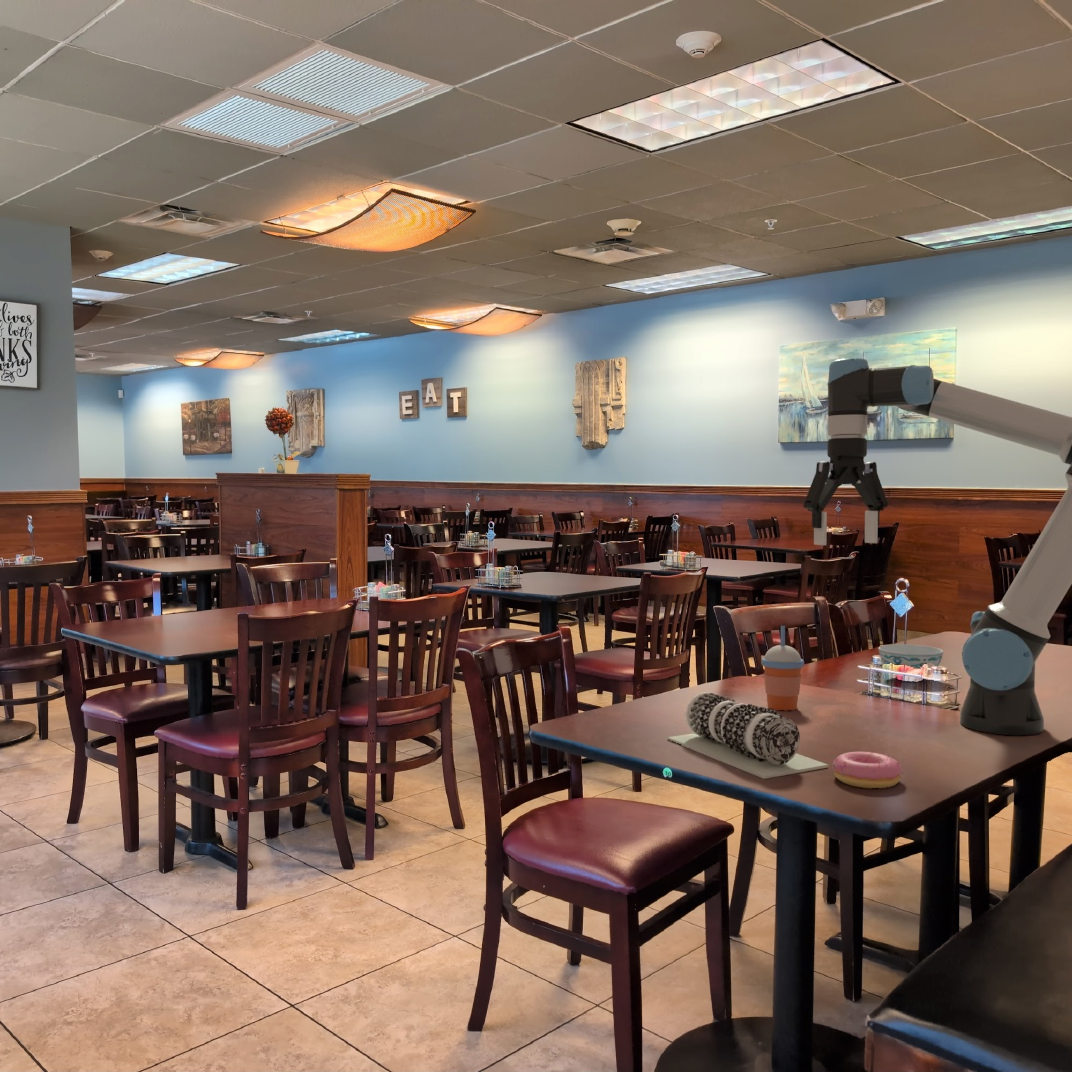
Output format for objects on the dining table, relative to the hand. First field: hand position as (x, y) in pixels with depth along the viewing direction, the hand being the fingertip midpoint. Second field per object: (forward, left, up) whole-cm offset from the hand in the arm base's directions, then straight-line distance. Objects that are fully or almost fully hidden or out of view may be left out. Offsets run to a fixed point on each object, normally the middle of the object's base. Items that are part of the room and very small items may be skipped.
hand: (845, 544), depth 195 cm
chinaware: (-15, -53, -37) cm, 66 cm away
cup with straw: (+13, -12, -37) cm, 41 cm away
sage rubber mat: (+17, +27, -37) cm, 49 cm away
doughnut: (-4, +38, -37) cm, 53 cm away
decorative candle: (+26, +18, -32) cm, 45 cm away
